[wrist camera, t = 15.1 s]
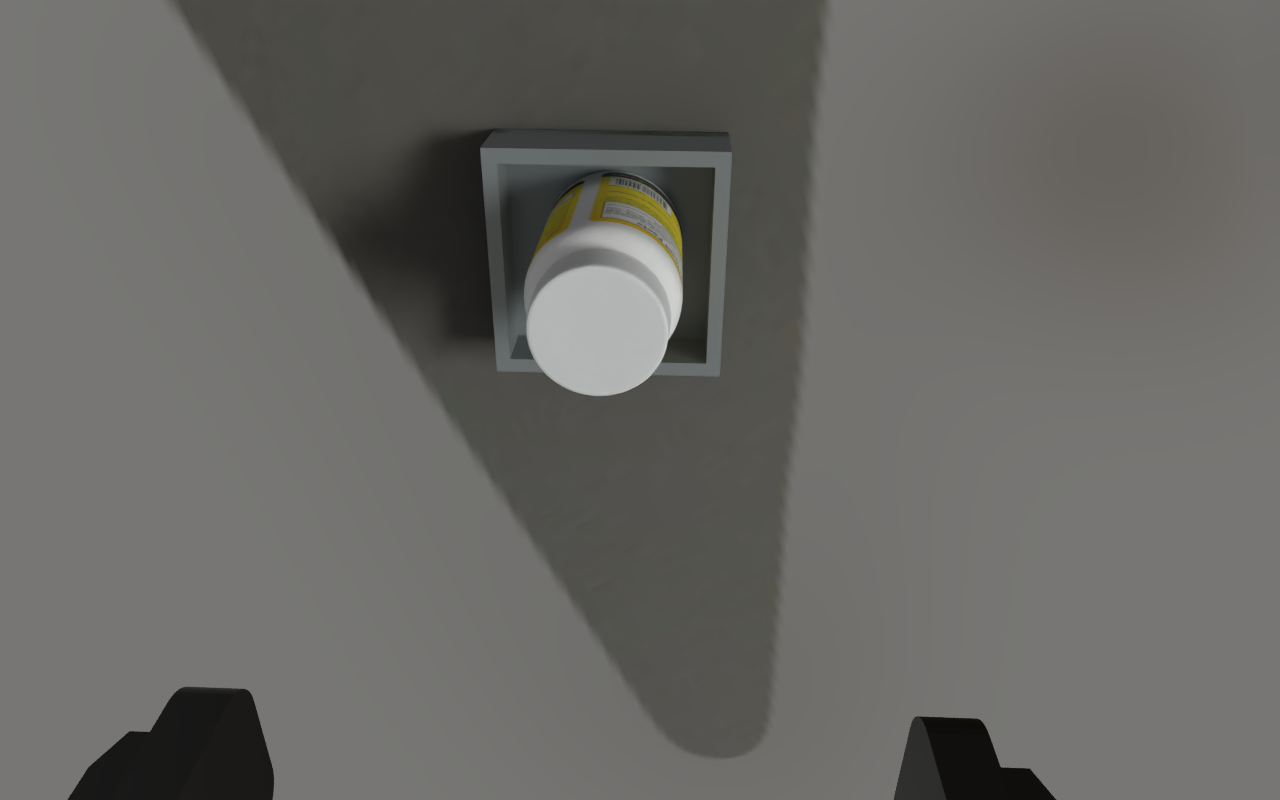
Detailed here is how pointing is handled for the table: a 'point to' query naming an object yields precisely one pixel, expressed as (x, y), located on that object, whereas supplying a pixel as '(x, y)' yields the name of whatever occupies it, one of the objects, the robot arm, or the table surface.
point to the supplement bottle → (605, 284)
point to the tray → (555, 159)
